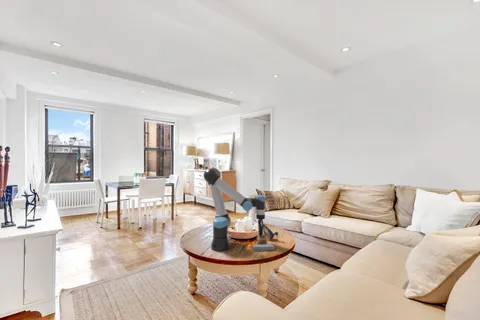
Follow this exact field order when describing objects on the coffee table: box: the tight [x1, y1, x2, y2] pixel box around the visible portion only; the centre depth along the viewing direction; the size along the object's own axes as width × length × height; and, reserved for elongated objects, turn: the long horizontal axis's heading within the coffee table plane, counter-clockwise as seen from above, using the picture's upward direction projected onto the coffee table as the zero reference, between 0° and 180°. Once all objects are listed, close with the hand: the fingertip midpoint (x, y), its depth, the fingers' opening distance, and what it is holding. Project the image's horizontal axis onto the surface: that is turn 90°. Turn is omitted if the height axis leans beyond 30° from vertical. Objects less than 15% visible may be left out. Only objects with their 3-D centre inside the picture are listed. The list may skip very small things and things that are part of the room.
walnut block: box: [256, 236, 268, 245], centre depth 194 cm, size 7×7×6 cm
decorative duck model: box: [262, 223, 279, 240], centre depth 210 cm, size 15×8×15 cm, turn 52°
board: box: [252, 243, 275, 252], centre depth 186 cm, size 16×5×3 cm, turn 94°
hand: (260, 241), depth 200 cm, fingers closed
